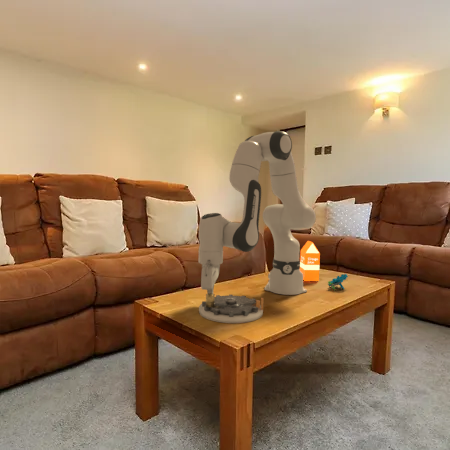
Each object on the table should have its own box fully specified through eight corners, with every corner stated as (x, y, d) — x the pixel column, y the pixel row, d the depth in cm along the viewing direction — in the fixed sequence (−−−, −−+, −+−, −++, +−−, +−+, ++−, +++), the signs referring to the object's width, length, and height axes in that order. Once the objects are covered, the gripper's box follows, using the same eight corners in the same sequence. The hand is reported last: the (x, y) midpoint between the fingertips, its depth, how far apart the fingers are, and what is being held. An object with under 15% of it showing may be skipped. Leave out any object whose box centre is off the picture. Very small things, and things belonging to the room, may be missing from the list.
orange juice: (313, 277, 177) (315, 240, 176) (319, 281, 168) (320, 242, 167) (299, 277, 177) (300, 240, 175) (303, 281, 168) (305, 242, 167)
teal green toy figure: (339, 281, 162) (349, 270, 155) (346, 292, 159) (357, 281, 151) (321, 286, 157) (331, 275, 150) (328, 297, 154) (338, 286, 147)
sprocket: (190, 309, 116) (190, 293, 115) (221, 295, 134) (221, 281, 133) (243, 321, 105) (243, 304, 105) (269, 304, 123) (269, 289, 123)
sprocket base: (204, 300, 132) (204, 286, 132) (262, 303, 130) (263, 289, 130) (193, 321, 109) (193, 304, 109) (263, 325, 107) (264, 308, 107)
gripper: (215, 263, 110) (215, 304, 111) (222, 253, 130) (221, 288, 131) (196, 263, 110) (196, 303, 111) (206, 253, 131) (206, 287, 132)
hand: (210, 295), depth 121 cm, fingers closed
